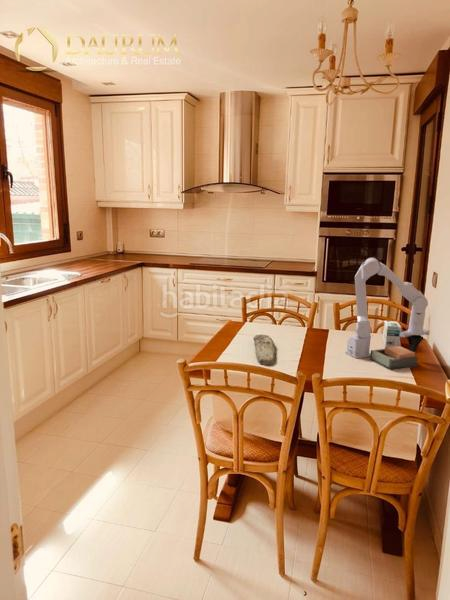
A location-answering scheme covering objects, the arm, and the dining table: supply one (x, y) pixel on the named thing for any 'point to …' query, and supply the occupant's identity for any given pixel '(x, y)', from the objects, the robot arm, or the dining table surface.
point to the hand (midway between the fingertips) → (412, 351)
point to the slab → (399, 352)
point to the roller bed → (392, 360)
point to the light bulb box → (391, 334)
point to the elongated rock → (264, 349)
